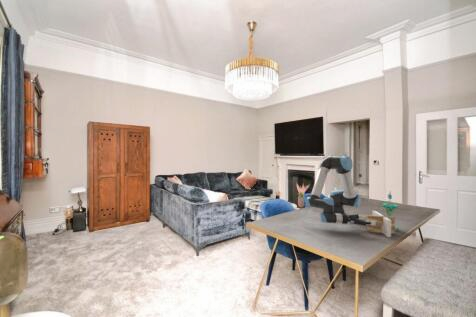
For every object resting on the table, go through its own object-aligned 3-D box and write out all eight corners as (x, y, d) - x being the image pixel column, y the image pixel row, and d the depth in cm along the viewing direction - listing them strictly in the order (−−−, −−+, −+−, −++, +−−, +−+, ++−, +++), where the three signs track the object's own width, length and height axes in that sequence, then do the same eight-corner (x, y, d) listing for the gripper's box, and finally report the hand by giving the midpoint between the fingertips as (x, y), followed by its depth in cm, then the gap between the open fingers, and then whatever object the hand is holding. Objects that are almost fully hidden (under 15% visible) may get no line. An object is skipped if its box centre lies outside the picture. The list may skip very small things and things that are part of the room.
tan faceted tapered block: (366, 230, 164) (366, 215, 164) (392, 232, 161) (392, 216, 161) (367, 231, 162) (367, 216, 162) (394, 233, 159) (394, 217, 158)
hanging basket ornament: (380, 225, 177) (381, 189, 177) (396, 227, 173) (397, 190, 172) (382, 229, 168) (383, 191, 167) (399, 231, 163) (400, 192, 162)
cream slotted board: (371, 224, 178) (372, 210, 178) (374, 225, 177) (375, 210, 177) (387, 236, 152) (387, 220, 152) (390, 237, 152) (391, 220, 152)
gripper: (336, 218, 178) (364, 220, 174) (346, 229, 154) (378, 231, 150) (337, 209, 178) (364, 211, 174) (346, 218, 154) (379, 220, 150)
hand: (371, 220), depth 162 cm, fingers open, 13 cm apart
